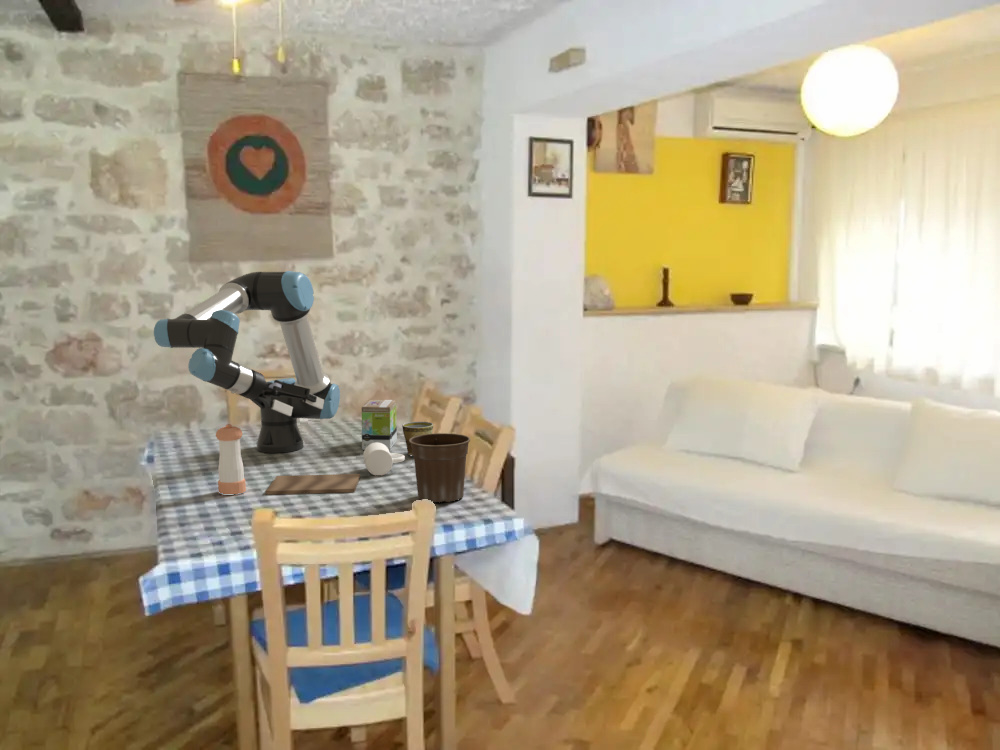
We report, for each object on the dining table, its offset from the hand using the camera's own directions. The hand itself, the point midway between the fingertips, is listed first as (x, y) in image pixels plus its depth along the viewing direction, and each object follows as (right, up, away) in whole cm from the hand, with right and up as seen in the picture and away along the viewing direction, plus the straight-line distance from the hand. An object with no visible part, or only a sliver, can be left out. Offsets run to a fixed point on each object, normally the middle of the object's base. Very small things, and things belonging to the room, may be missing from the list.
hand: (306, 408), depth 249 cm
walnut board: (+2, -22, +1) cm, 22 cm away
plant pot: (+39, -24, -12) cm, 47 cm away
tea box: (+14, -15, +51) cm, 55 cm away
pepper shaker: (-19, -23, -5) cm, 31 cm away
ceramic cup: (+28, -16, +38) cm, 50 cm away
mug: (+20, -20, +16) cm, 33 cm away
